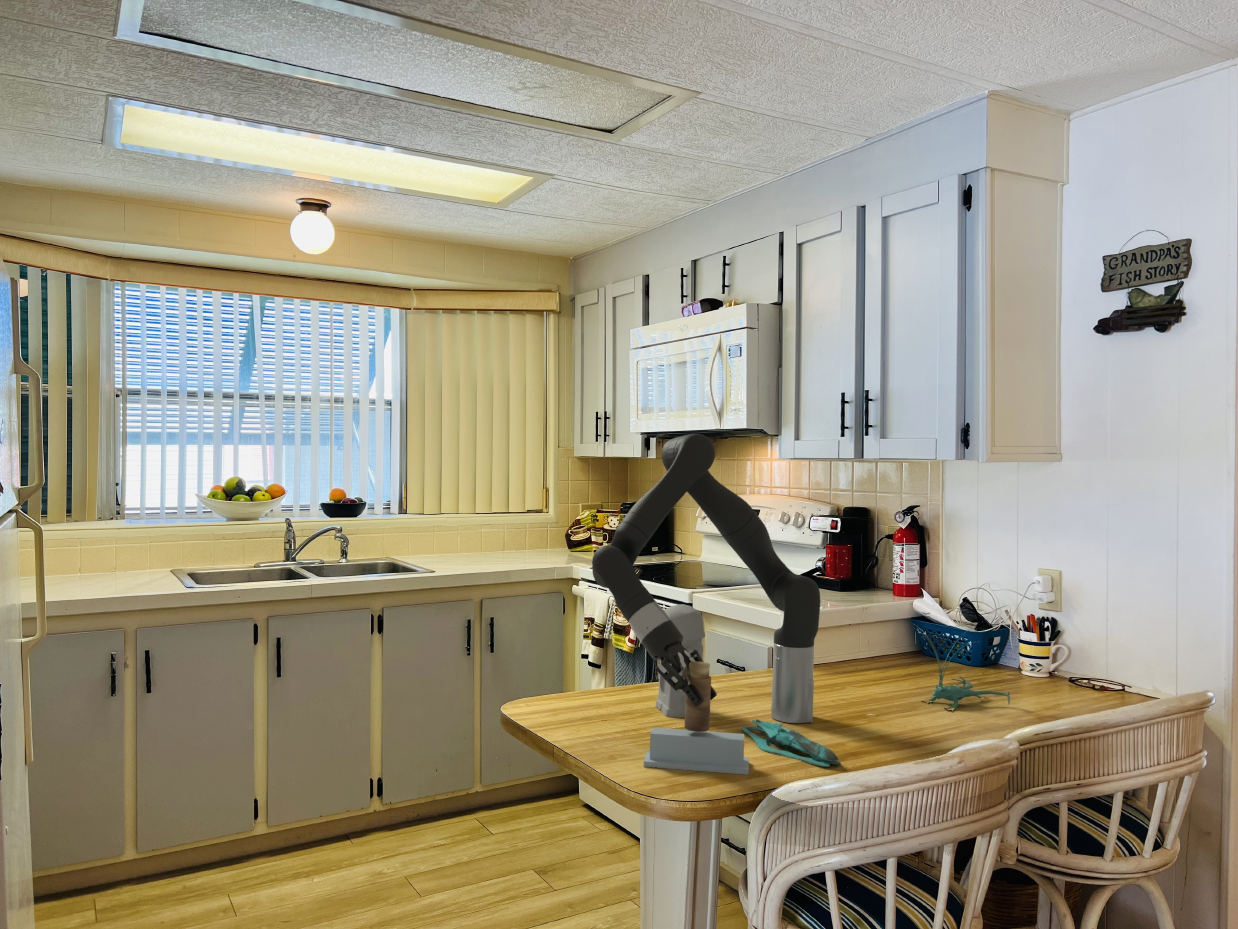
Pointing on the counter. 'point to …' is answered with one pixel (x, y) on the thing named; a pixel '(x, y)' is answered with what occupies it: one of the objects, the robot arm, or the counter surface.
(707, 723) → the pepper mill
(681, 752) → the rail
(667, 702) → the grey moai statue
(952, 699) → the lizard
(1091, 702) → the counter surface
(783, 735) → the toy spaceship
